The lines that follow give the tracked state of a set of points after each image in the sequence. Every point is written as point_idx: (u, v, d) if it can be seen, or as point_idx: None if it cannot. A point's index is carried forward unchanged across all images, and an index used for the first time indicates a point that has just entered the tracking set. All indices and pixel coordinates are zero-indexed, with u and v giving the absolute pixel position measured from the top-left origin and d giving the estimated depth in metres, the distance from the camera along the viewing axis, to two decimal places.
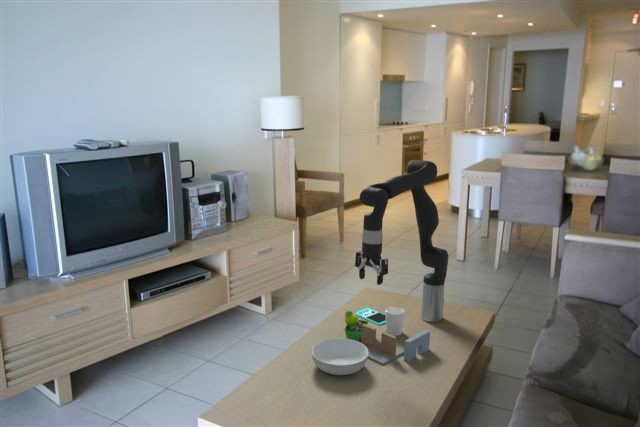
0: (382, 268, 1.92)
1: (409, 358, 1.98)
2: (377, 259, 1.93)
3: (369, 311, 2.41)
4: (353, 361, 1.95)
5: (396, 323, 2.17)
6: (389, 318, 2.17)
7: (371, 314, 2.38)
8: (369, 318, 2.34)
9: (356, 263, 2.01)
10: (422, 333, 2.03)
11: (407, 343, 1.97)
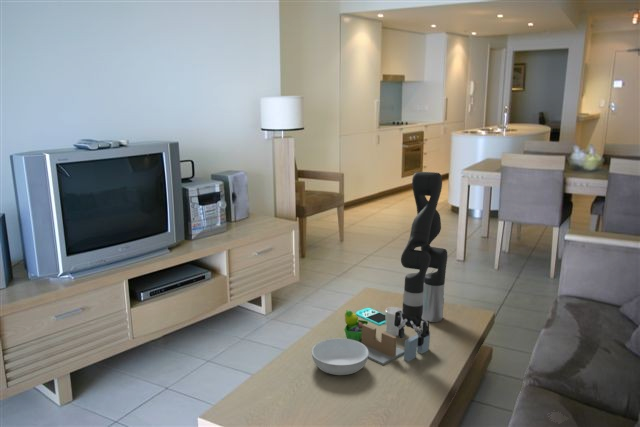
0: (423, 330, 1.92)
1: (409, 358, 1.98)
2: (418, 321, 1.93)
3: (369, 311, 2.41)
4: (353, 361, 1.95)
5: None
6: (389, 318, 2.17)
7: (371, 314, 2.38)
8: (369, 318, 2.34)
9: (395, 323, 2.01)
10: None
11: (407, 343, 1.97)
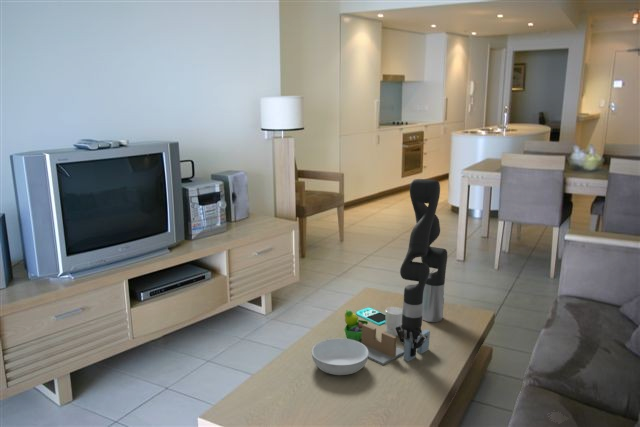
0: (418, 343, 1.94)
1: (409, 358, 1.98)
2: (417, 333, 1.94)
3: (370, 311, 2.42)
4: (353, 361, 1.95)
5: (396, 323, 2.17)
6: (389, 318, 2.17)
7: (371, 314, 2.38)
8: (369, 318, 2.34)
9: (400, 338, 2.00)
10: (422, 333, 2.03)
11: (407, 343, 1.97)
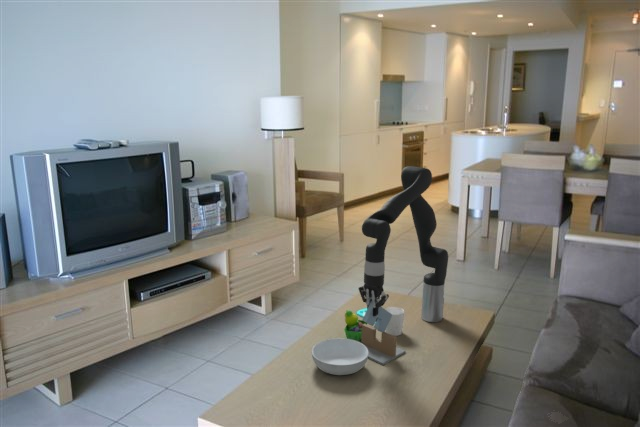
0: (380, 302, 1.93)
1: (368, 319, 1.95)
2: (379, 291, 1.93)
3: None
4: (353, 361, 1.95)
5: (396, 323, 2.17)
6: None
7: None
8: None
9: (363, 298, 1.99)
10: (385, 310, 2.04)
11: (372, 303, 1.97)
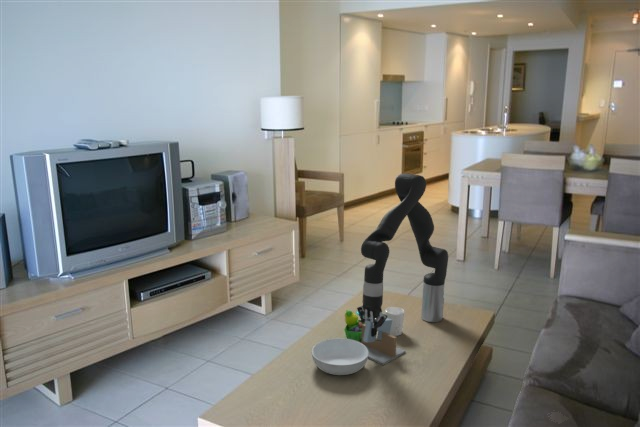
0: (378, 322, 1.94)
1: (368, 339, 1.97)
2: (378, 312, 1.94)
3: None
4: (353, 361, 1.95)
5: (396, 323, 2.17)
6: (389, 318, 2.17)
7: None
8: None
9: (361, 318, 2.00)
10: None
11: (368, 323, 1.97)
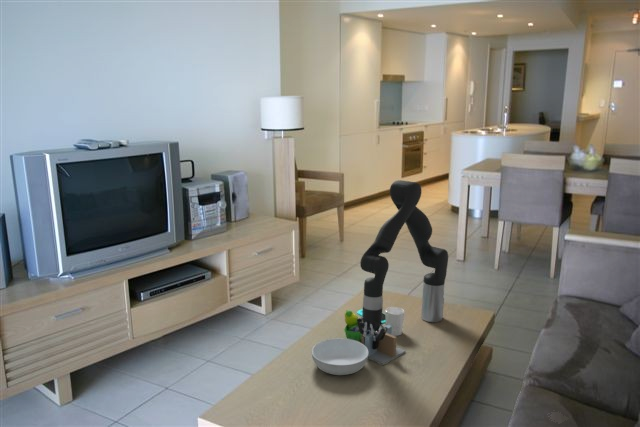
0: (379, 335, 1.96)
1: (369, 353, 2.00)
2: (377, 325, 1.96)
3: None
4: (353, 361, 1.95)
5: (396, 323, 2.17)
6: (389, 318, 2.17)
7: None
8: None
9: (360, 330, 2.02)
10: None
11: (367, 338, 1.98)
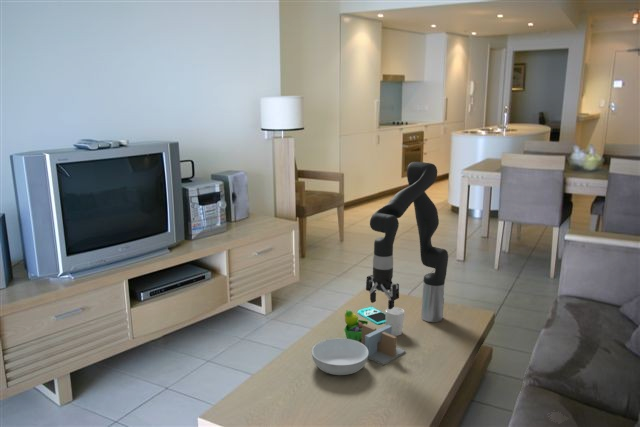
0: (393, 293, 1.93)
1: (369, 353, 2.00)
2: (388, 284, 1.95)
3: (372, 310, 2.42)
4: (353, 361, 1.95)
5: (396, 323, 2.17)
6: (389, 318, 2.17)
7: (372, 313, 2.39)
8: (369, 317, 2.35)
9: (367, 287, 2.02)
10: (383, 328, 2.05)
11: (367, 338, 1.98)
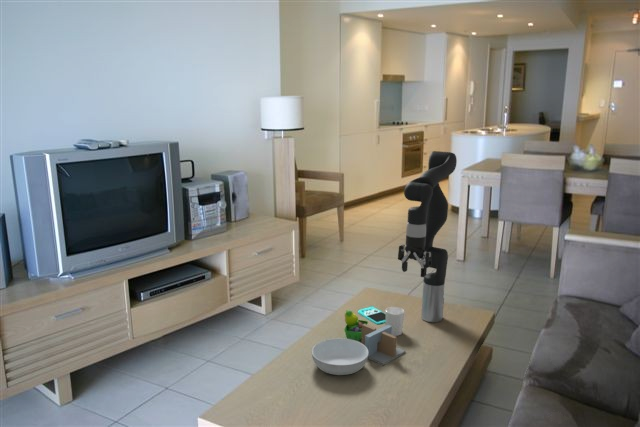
0: (426, 261, 1.98)
1: (369, 353, 2.00)
2: (421, 252, 1.99)
3: (372, 310, 2.43)
4: (353, 361, 1.95)
5: (396, 323, 2.17)
6: (389, 318, 2.17)
7: (373, 313, 2.39)
8: (369, 317, 2.35)
9: (399, 256, 2.07)
10: (383, 328, 2.05)
11: (367, 338, 1.98)
